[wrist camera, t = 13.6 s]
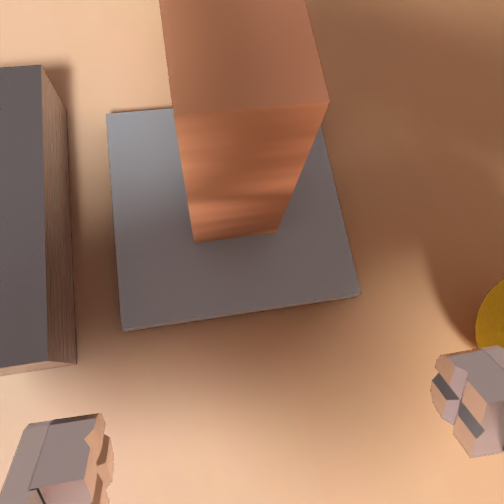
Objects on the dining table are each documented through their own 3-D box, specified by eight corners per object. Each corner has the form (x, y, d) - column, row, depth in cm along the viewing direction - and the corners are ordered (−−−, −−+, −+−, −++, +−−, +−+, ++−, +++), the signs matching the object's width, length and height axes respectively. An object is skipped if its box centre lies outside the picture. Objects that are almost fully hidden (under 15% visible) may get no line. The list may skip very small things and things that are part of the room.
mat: (310, 106, 21) (313, 96, 20) (355, 297, 18) (361, 293, 18) (109, 124, 20) (105, 113, 19) (125, 331, 17) (121, 329, 16)
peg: (262, 160, 19) (300, -18, 11) (276, 232, 18) (330, 101, 10) (184, 168, 19) (157, -10, 10) (194, 243, 18) (173, 115, 9)
